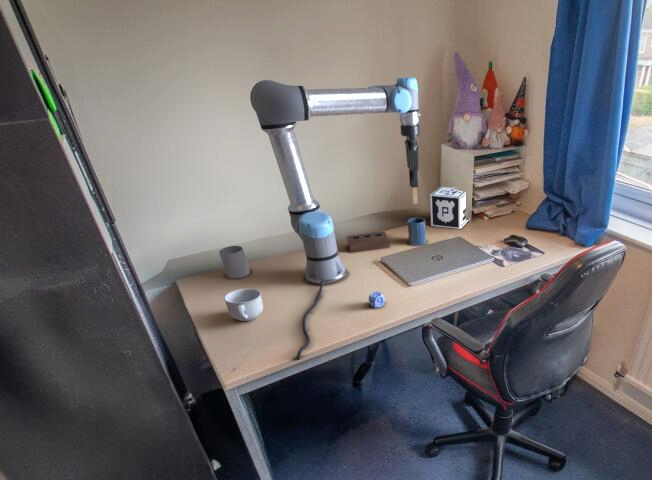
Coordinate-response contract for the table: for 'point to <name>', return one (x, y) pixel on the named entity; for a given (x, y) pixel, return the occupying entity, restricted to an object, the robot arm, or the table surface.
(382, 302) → the decorative dice
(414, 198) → the stirrer
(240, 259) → the cup
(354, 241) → the caddy
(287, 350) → the table surface
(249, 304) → the teacup
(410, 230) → the coffee cup
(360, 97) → the robot arm
